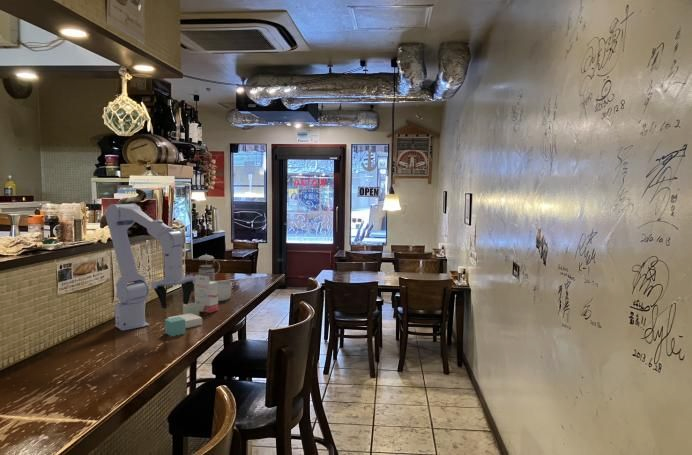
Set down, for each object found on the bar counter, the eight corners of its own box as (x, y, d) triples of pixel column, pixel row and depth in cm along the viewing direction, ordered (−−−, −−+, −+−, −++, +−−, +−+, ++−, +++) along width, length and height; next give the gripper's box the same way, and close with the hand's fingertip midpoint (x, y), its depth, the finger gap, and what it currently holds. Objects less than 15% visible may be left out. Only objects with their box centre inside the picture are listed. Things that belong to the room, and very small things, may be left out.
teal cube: (171, 337, 159) (170, 322, 159) (165, 333, 163) (164, 319, 163) (185, 333, 163) (185, 319, 162) (179, 330, 166) (178, 316, 166)
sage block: (188, 318, 182) (187, 306, 182) (183, 315, 186) (182, 304, 185) (199, 315, 185) (199, 304, 185) (194, 313, 189) (193, 302, 188)
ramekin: (236, 295, 219) (236, 280, 219) (226, 302, 206) (226, 286, 206) (208, 295, 221) (208, 280, 220) (196, 302, 208) (196, 286, 207)
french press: (195, 283, 247) (194, 235, 245) (218, 281, 252) (217, 234, 250) (198, 287, 238) (196, 237, 236) (221, 285, 243) (220, 236, 241)
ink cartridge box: (219, 310, 193) (218, 274, 192) (210, 313, 189) (209, 276, 188) (203, 307, 197) (202, 272, 196) (194, 310, 193) (193, 274, 192)
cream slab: (178, 330, 167) (177, 322, 167) (167, 325, 174) (167, 317, 173) (202, 325, 173) (202, 317, 173) (191, 320, 180) (191, 313, 179)
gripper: (156, 270, 153) (158, 312, 154) (199, 265, 163) (200, 304, 164) (148, 267, 158) (150, 308, 159) (190, 263, 168) (191, 300, 169)
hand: (175, 306), depth 162 cm, fingers open, 7 cm apart
